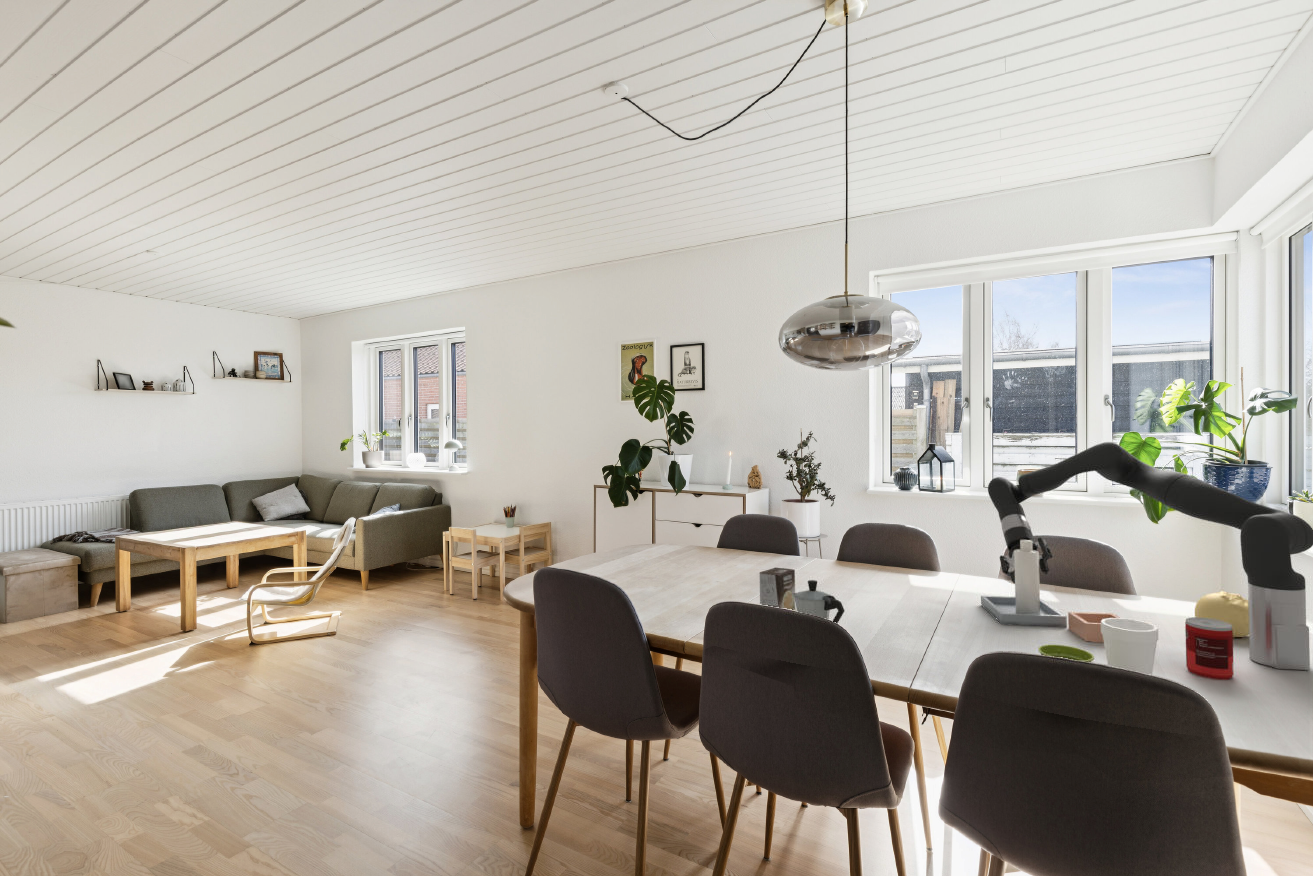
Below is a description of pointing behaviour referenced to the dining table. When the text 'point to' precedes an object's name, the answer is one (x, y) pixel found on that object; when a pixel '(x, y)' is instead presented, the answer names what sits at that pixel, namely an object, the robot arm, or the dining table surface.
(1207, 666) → the canned food
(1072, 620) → the holder
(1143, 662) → the foam cup
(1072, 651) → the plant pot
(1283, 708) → the dining table surface
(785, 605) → the coffee box
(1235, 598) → the sculpture
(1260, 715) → the dining table surface
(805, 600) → the coffee maker
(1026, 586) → the bottle
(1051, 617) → the tray
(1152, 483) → the robot arm
